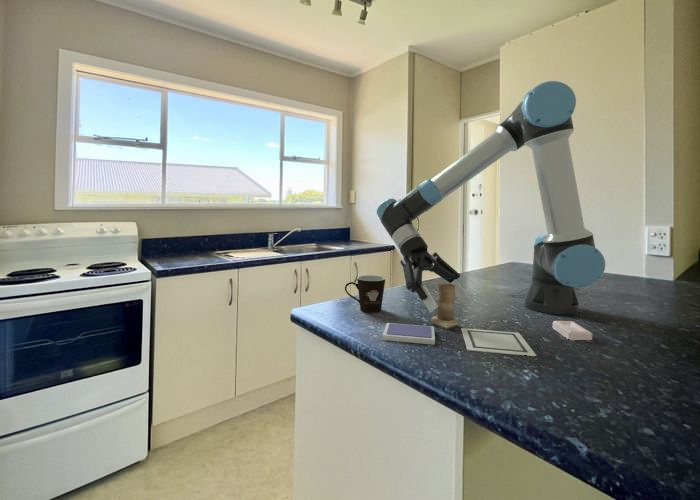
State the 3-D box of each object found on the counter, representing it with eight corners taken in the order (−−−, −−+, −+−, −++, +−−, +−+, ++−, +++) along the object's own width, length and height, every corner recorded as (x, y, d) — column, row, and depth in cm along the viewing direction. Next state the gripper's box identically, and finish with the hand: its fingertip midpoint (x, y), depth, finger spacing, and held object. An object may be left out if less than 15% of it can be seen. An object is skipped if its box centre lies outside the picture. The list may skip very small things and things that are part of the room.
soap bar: (573, 329, 90) (573, 320, 90) (592, 342, 81) (593, 333, 81) (551, 328, 91) (552, 319, 91) (568, 341, 82) (569, 331, 82)
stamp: (431, 324, 92) (432, 284, 91) (442, 321, 95) (444, 282, 94) (446, 329, 88) (448, 288, 87) (458, 325, 91) (460, 285, 90)
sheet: (518, 333, 86) (519, 332, 86) (536, 356, 72) (536, 355, 72) (460, 328, 89) (461, 327, 89) (467, 350, 75) (467, 348, 75)
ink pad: (433, 331, 87) (433, 325, 87) (434, 344, 78) (434, 338, 78) (386, 327, 90) (386, 322, 89) (382, 339, 81) (382, 334, 81)
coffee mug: (387, 307, 107) (388, 276, 106) (380, 315, 99) (381, 281, 98) (352, 304, 111) (353, 273, 110) (343, 311, 103) (343, 278, 102)
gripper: (430, 248, 110) (469, 305, 99) (371, 254, 94) (410, 321, 84) (444, 233, 105) (486, 290, 95) (385, 236, 90) (428, 305, 80)
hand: (451, 305), depth 90 cm, fingers open, 13 cm apart
